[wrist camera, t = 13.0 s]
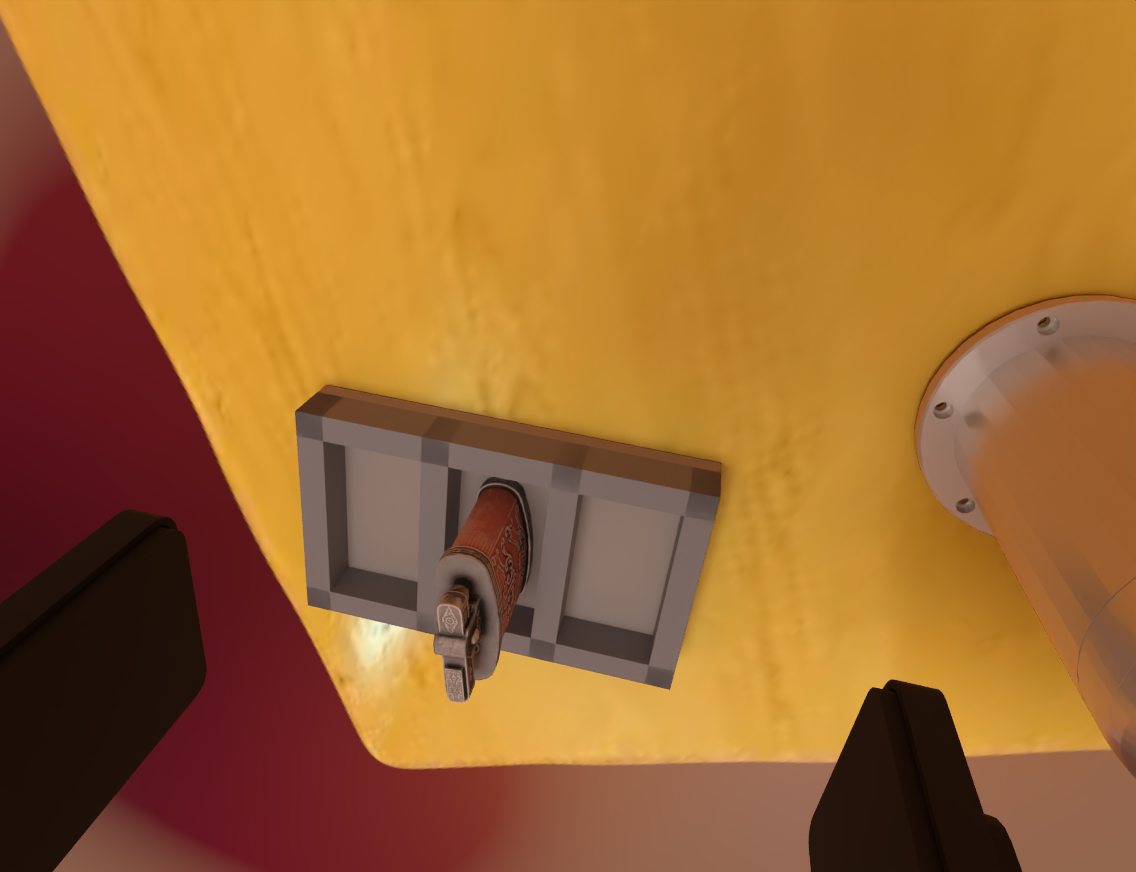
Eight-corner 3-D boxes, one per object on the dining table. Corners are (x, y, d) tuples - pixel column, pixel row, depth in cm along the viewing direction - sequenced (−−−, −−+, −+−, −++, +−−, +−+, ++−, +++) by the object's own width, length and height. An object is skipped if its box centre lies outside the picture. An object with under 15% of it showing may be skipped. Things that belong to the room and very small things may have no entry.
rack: (721, 463, 40) (720, 497, 37) (673, 647, 46) (669, 689, 43) (326, 384, 42) (295, 411, 39) (334, 570, 49) (307, 604, 46)
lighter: (473, 472, 42) (406, 584, 33) (531, 478, 41) (479, 593, 33) (481, 585, 46) (423, 713, 37) (535, 592, 45) (489, 723, 36)
